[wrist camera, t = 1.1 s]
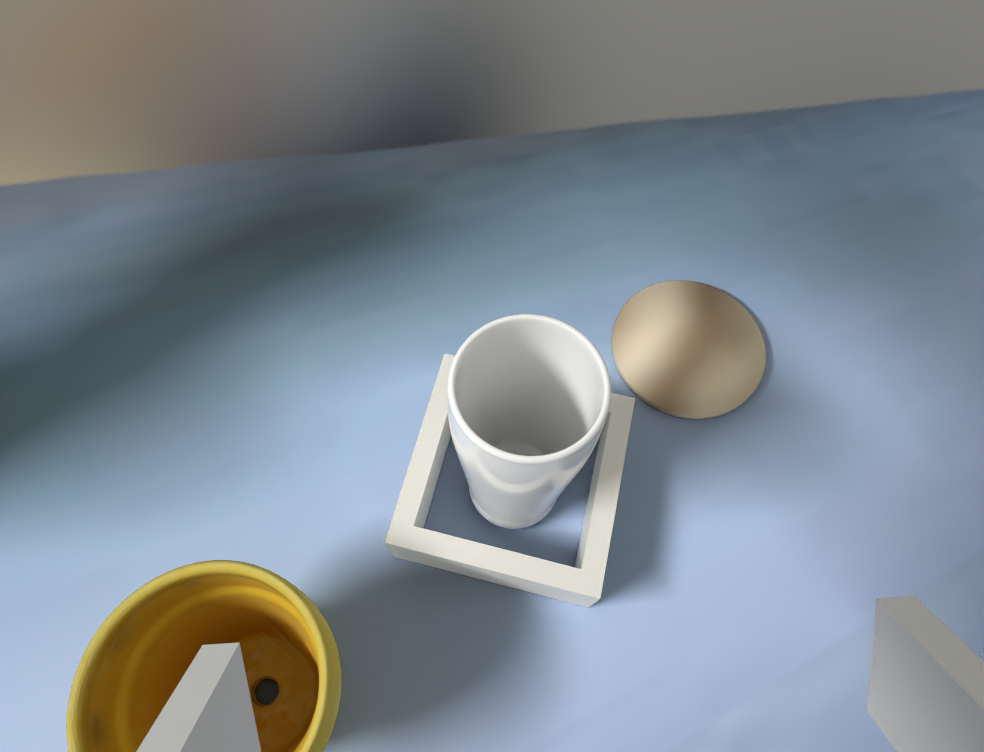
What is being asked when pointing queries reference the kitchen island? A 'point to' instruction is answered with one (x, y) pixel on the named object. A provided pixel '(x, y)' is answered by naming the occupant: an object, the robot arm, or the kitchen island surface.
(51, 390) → the kitchen island surface
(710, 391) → the wooden coaster
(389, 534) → the square holder
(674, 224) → the kitchen island surface
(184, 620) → the plant pot
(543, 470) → the white cup
